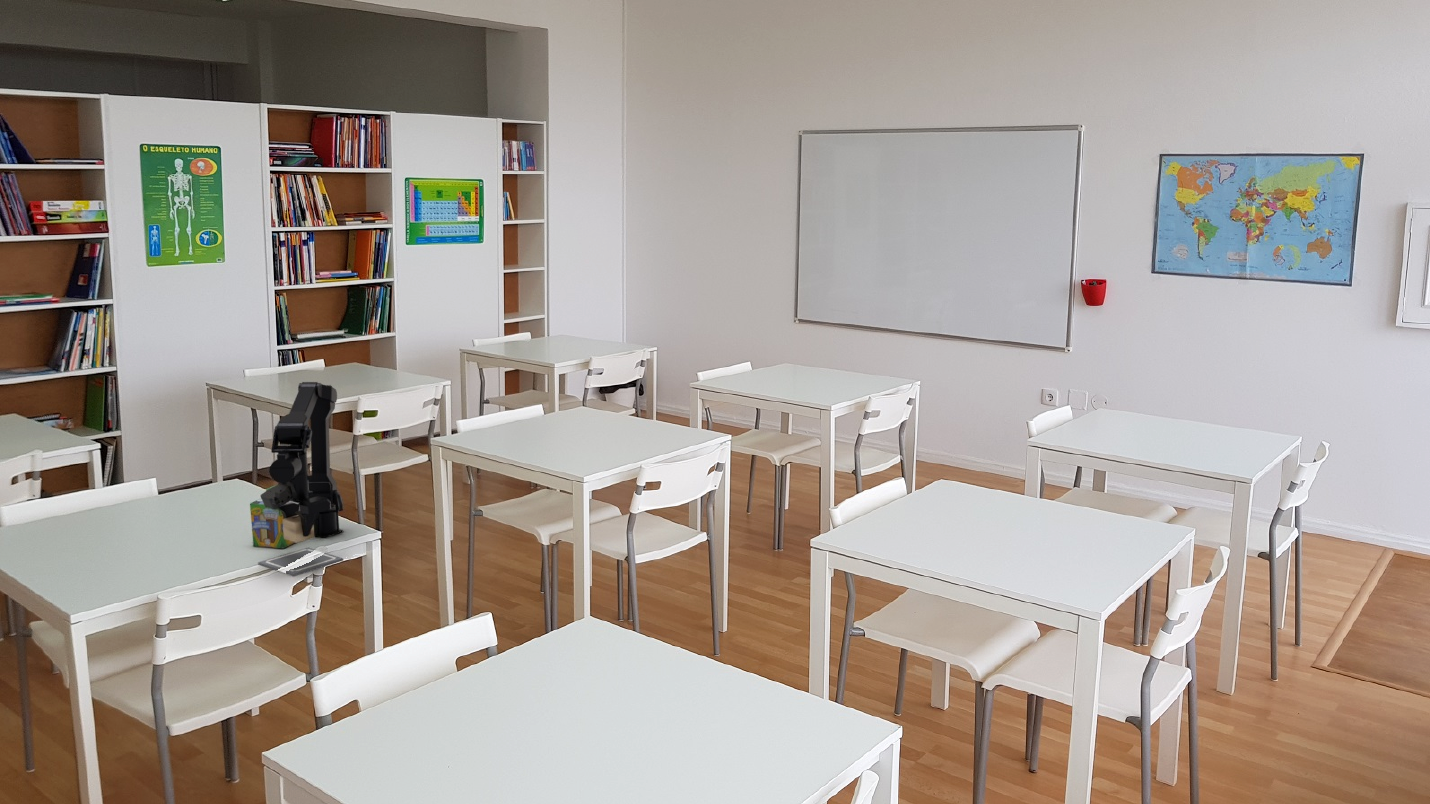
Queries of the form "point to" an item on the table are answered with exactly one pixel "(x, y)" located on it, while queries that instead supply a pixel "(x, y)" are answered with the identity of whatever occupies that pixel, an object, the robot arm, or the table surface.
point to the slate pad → (293, 556)
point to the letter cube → (295, 529)
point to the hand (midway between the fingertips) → (299, 534)
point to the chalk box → (267, 526)
